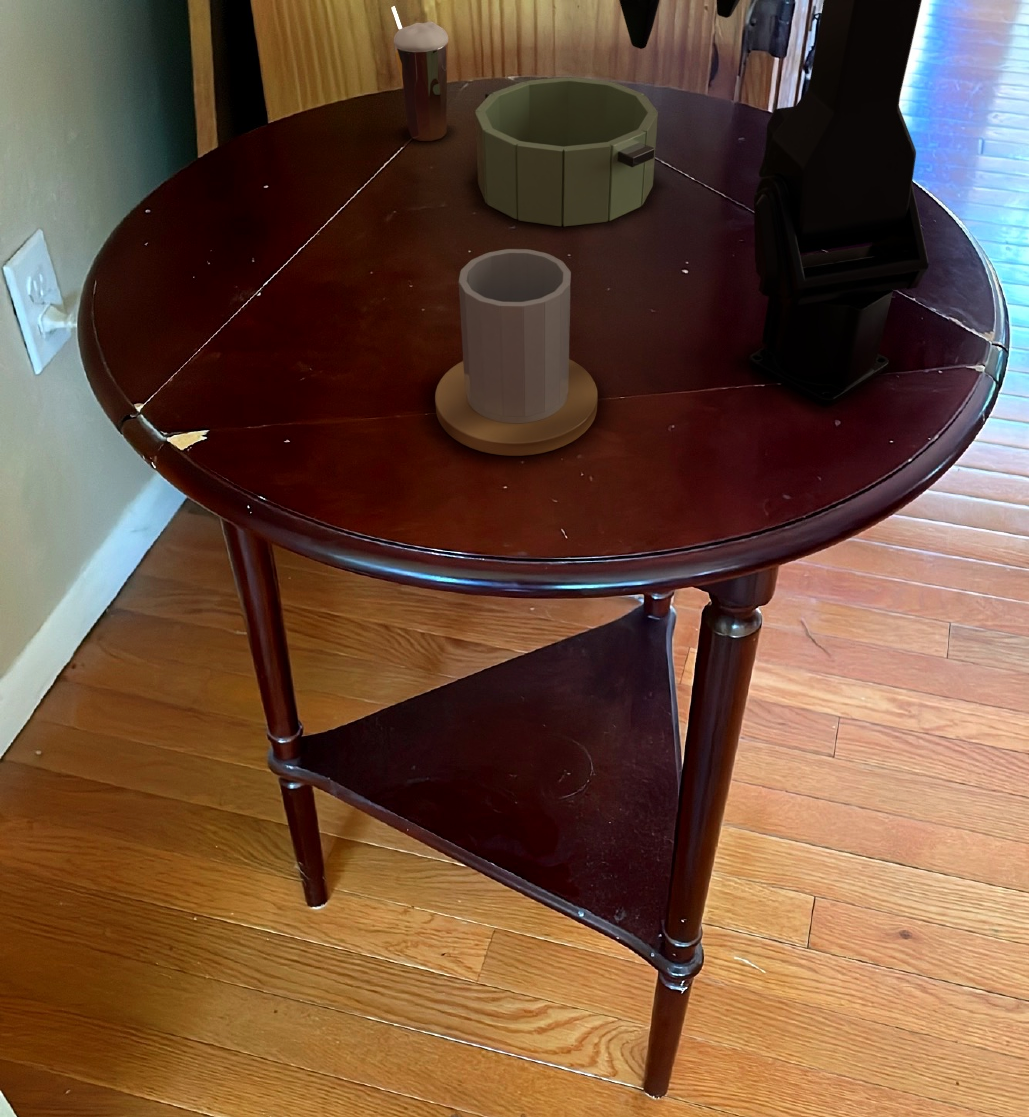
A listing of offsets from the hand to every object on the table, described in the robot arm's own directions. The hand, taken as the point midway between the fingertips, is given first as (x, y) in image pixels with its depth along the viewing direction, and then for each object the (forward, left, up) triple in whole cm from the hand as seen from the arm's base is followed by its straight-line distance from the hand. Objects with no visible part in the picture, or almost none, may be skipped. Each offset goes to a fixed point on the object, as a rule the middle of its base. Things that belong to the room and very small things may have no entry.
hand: (682, 31), depth 83 cm
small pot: (-14, +29, -11) cm, 34 cm away
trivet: (-14, +29, -12) cm, 34 cm away
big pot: (+6, +6, -12) cm, 15 cm away
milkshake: (+22, +8, -12) cm, 26 cm away
